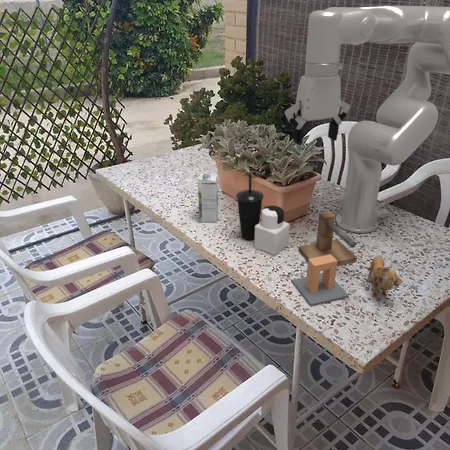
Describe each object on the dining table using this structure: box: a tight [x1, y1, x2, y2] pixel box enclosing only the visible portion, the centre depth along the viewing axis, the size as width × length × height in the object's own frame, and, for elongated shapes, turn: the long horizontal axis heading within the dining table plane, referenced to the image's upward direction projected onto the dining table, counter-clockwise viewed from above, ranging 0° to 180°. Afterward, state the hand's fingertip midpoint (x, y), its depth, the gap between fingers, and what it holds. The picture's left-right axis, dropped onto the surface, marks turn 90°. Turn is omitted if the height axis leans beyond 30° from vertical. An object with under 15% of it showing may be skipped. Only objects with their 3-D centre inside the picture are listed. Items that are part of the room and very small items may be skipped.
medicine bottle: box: [254, 205, 291, 256], centre depth 117 cm, size 7×7×12 cm
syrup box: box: [197, 172, 219, 224], centre depth 131 cm, size 6×6×14 cm
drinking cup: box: [235, 173, 264, 242], centre depth 120 cm, size 8×8×20 cm
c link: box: [306, 254, 338, 293], centre depth 100 cm, size 6×3×8 cm, turn 108°
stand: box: [298, 210, 358, 267], centre depth 110 cm, size 12×16×12 cm
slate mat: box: [291, 272, 350, 307], centre depth 102 cm, size 10×10×1 cm
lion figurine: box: [365, 256, 404, 299], centre depth 100 cm, size 15×5×9 cm, turn 2°
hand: (315, 141), depth 106 cm, fingers open, 9 cm apart
